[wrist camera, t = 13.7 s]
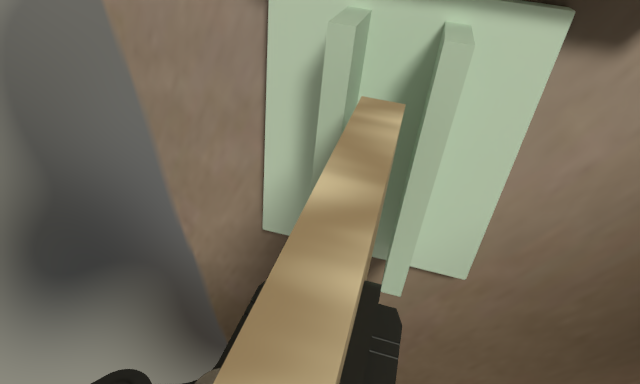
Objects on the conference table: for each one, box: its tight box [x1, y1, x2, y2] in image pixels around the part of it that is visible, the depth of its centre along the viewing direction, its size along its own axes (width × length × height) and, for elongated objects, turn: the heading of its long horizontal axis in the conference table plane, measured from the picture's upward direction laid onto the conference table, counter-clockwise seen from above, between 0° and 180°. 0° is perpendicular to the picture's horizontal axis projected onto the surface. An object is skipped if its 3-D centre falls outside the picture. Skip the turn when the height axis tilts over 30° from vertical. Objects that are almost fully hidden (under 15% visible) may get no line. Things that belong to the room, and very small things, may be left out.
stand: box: [263, 0, 576, 297], centre depth 19 cm, size 12×14×4 cm
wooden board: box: [213, 96, 406, 384], centre depth 11 cm, size 2×8×12 cm, turn 174°
